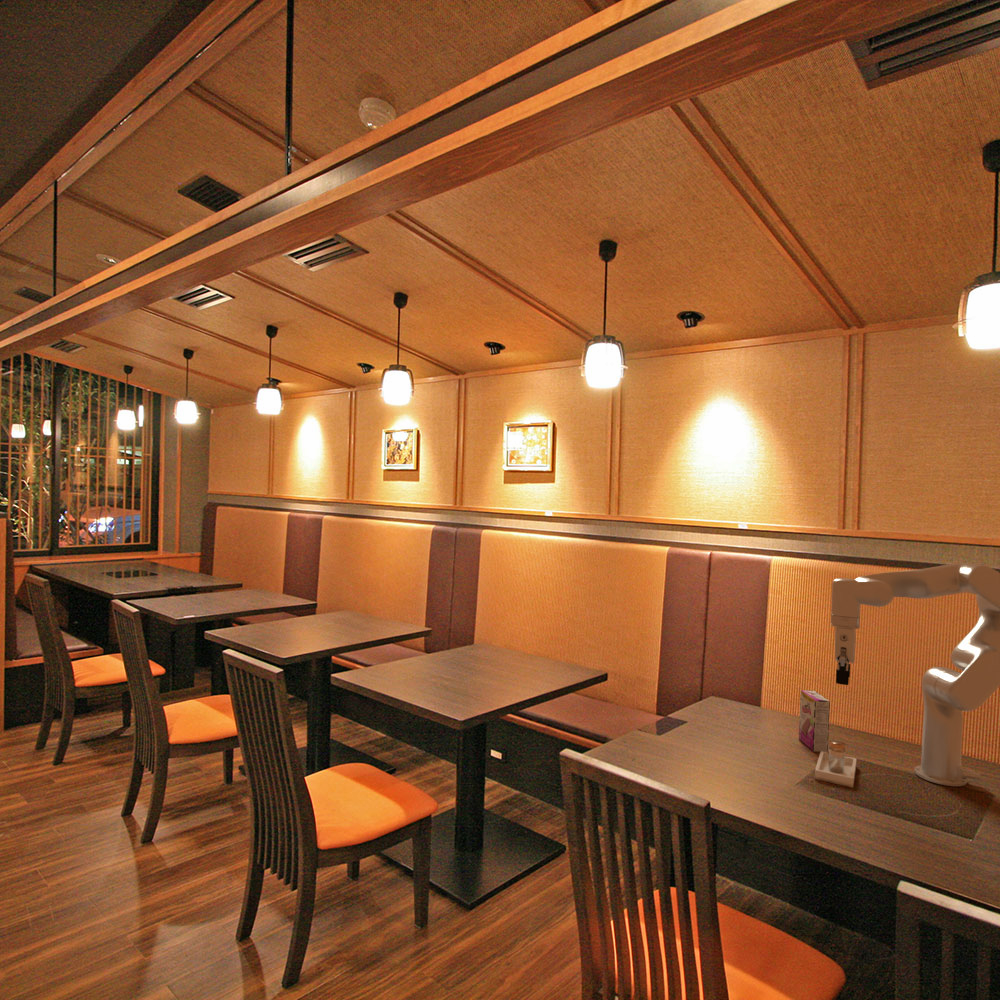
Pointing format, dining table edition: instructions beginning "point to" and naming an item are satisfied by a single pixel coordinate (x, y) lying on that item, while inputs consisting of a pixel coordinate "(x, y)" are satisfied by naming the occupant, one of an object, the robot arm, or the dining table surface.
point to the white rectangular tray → (832, 777)
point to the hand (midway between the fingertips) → (842, 680)
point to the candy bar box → (814, 720)
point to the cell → (836, 756)
